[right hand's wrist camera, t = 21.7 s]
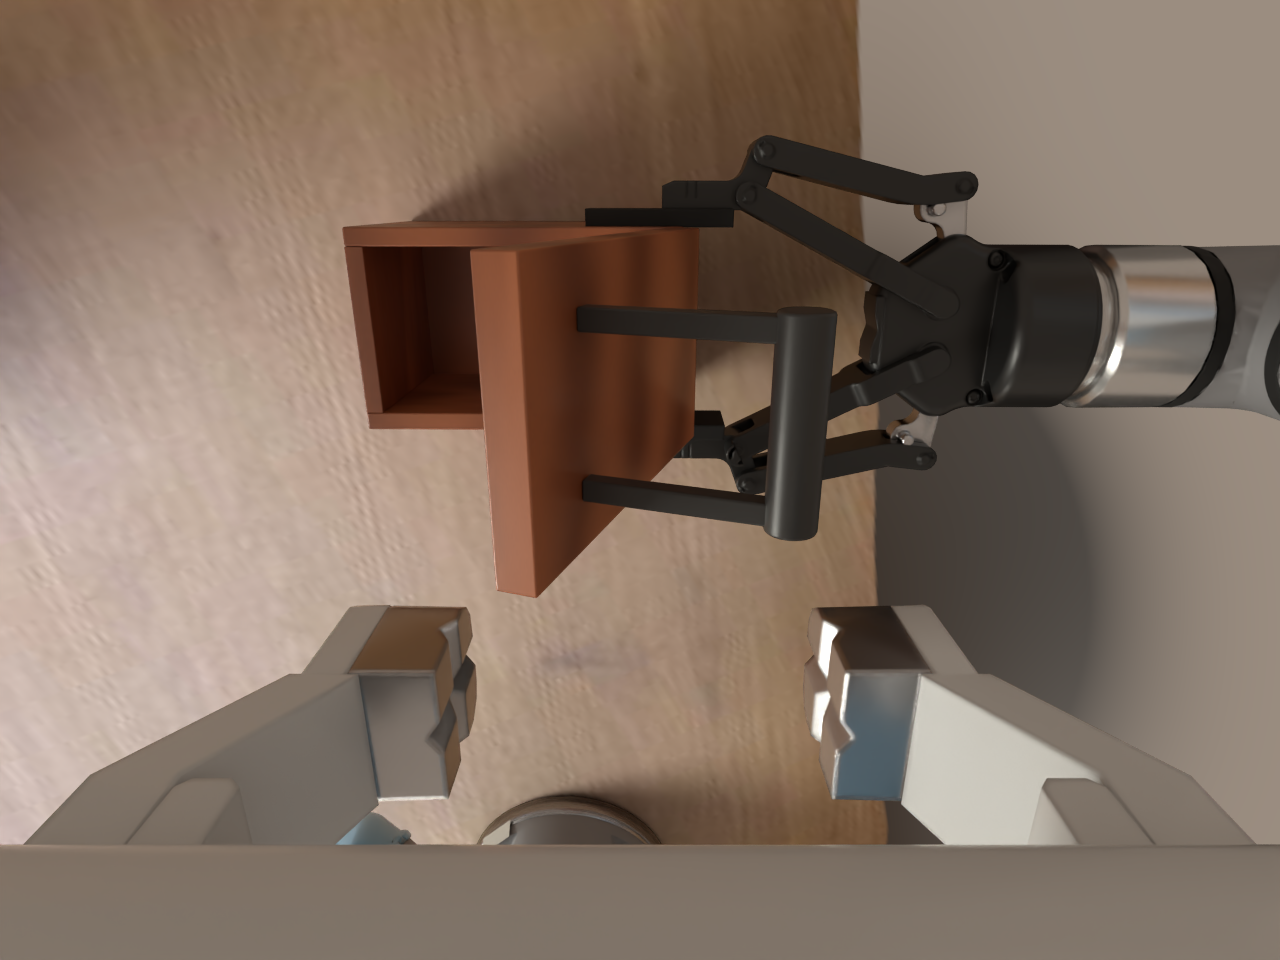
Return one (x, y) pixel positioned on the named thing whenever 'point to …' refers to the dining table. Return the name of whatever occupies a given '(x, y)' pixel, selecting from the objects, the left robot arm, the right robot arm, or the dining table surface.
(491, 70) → the dining table surface
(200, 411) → the dining table surface
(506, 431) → the lid
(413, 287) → the chest
